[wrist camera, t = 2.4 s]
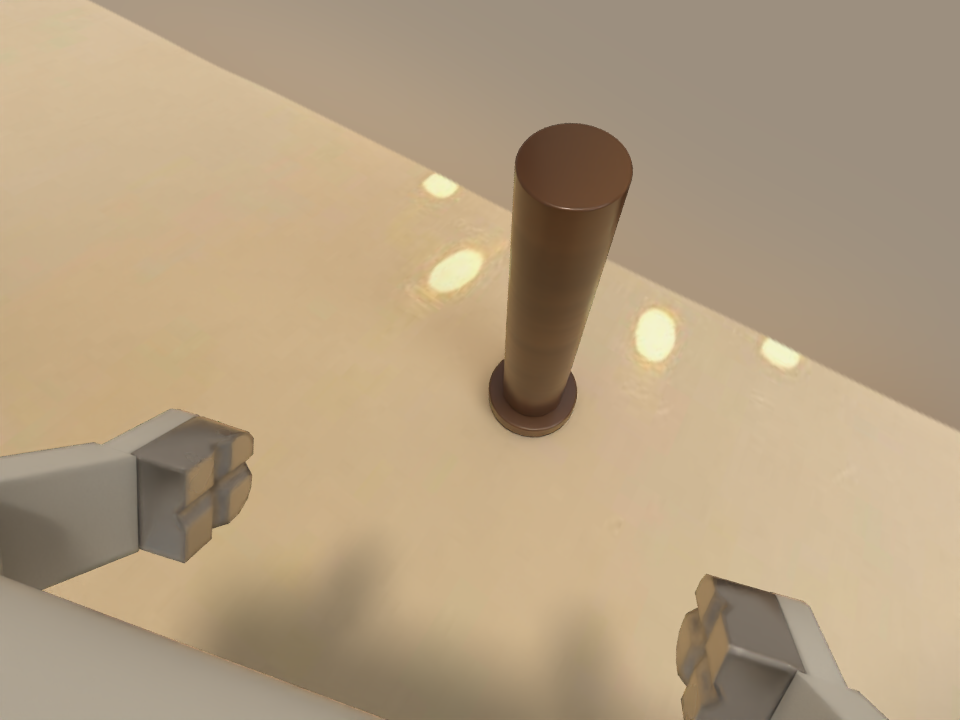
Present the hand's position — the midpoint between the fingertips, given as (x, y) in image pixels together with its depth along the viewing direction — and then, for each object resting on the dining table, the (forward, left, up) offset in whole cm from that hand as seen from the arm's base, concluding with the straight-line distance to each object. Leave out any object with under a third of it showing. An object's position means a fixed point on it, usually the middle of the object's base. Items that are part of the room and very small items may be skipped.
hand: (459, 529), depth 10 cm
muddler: (+6, -7, -17) cm, 19 cm away
